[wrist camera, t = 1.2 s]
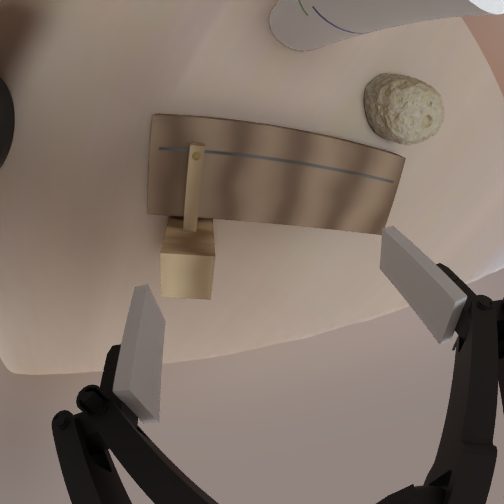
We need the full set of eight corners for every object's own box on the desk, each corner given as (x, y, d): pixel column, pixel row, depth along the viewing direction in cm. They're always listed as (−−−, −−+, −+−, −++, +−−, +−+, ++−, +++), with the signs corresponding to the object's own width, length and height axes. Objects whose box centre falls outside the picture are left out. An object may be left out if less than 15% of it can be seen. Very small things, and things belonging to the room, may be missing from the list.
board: (150, 206, 34) (147, 214, 31) (156, 113, 28) (152, 115, 26) (373, 227, 40) (382, 235, 38) (395, 153, 34) (406, 158, 32)
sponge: (399, 124, 36) (458, 113, 28) (383, 165, 34) (453, 156, 25) (366, 72, 32) (428, 52, 24) (344, 107, 29) (419, 84, 21)
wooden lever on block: (169, 247, 37) (161, 296, 28) (176, 136, 30) (164, 153, 22) (208, 250, 38) (210, 299, 29) (221, 140, 31) (227, 158, 23)
